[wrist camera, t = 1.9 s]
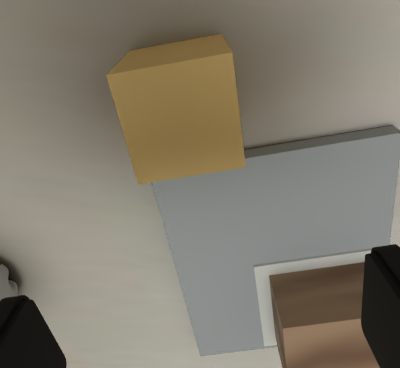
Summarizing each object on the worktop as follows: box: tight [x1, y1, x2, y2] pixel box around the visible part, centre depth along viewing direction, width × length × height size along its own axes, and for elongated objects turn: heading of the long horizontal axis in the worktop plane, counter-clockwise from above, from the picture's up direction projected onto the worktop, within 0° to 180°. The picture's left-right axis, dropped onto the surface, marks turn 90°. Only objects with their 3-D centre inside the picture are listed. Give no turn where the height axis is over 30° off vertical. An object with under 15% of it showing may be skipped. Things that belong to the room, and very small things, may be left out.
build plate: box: [152, 125, 400, 356], centre depth 25 cm, size 18×15×1 cm
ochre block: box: [106, 34, 246, 184], centre depth 17 cm, size 5×5×6 cm
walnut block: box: [269, 262, 380, 368], centre depth 25 cm, size 7×7×4 cm
